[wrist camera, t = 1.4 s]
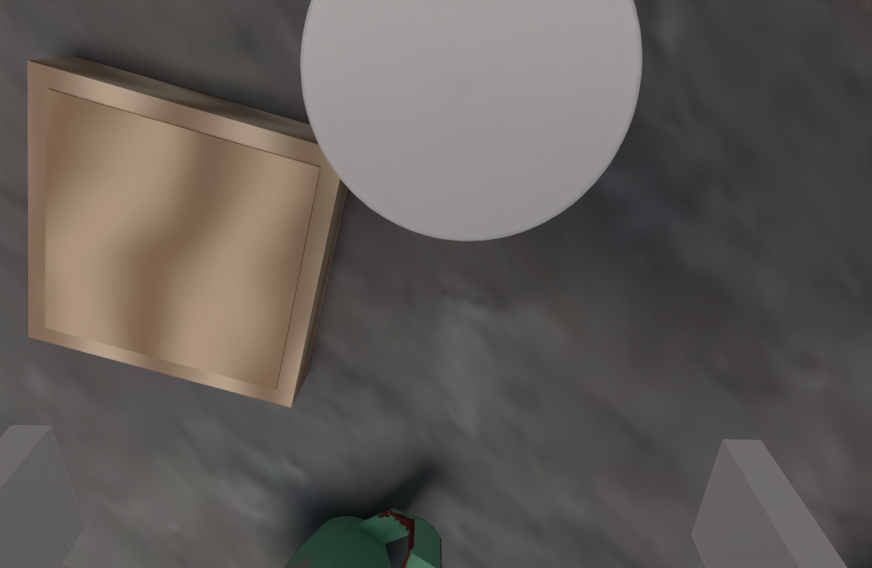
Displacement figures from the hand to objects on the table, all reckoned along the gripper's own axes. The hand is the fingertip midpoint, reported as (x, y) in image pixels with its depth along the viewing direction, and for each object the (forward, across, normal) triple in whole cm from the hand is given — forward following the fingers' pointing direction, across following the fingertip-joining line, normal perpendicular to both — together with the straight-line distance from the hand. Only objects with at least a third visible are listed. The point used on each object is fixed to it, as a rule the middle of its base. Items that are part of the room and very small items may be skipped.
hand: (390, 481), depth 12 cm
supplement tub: (+23, -3, -5) cm, 23 cm away
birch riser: (+23, +12, +5) cm, 26 cm away
